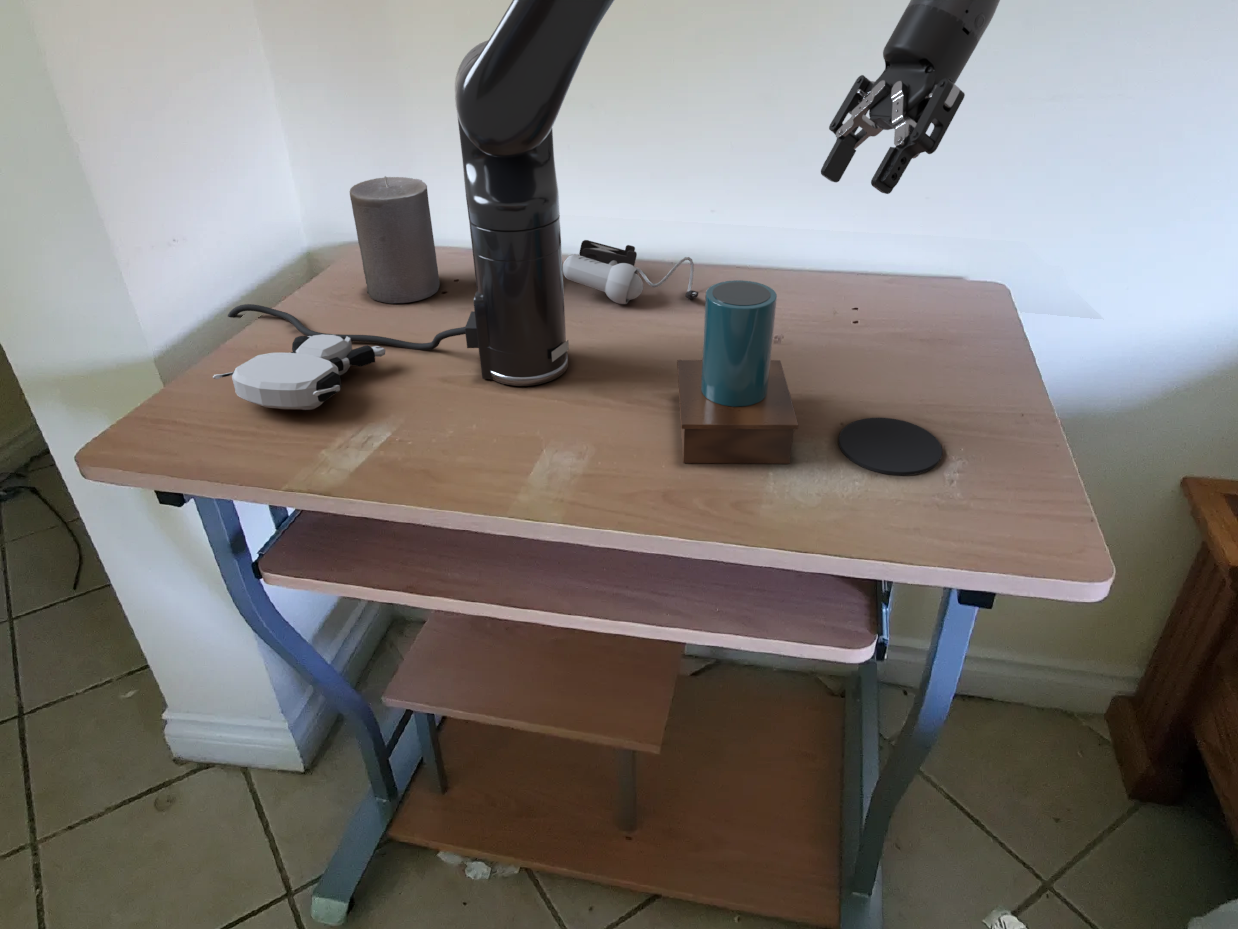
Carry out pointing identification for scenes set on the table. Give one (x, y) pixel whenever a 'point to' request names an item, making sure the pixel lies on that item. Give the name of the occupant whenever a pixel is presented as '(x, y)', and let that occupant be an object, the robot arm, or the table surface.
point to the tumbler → (737, 342)
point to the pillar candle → (395, 239)
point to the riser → (735, 422)
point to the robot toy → (300, 372)
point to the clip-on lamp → (613, 271)
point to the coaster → (890, 446)
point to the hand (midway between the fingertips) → (852, 183)
